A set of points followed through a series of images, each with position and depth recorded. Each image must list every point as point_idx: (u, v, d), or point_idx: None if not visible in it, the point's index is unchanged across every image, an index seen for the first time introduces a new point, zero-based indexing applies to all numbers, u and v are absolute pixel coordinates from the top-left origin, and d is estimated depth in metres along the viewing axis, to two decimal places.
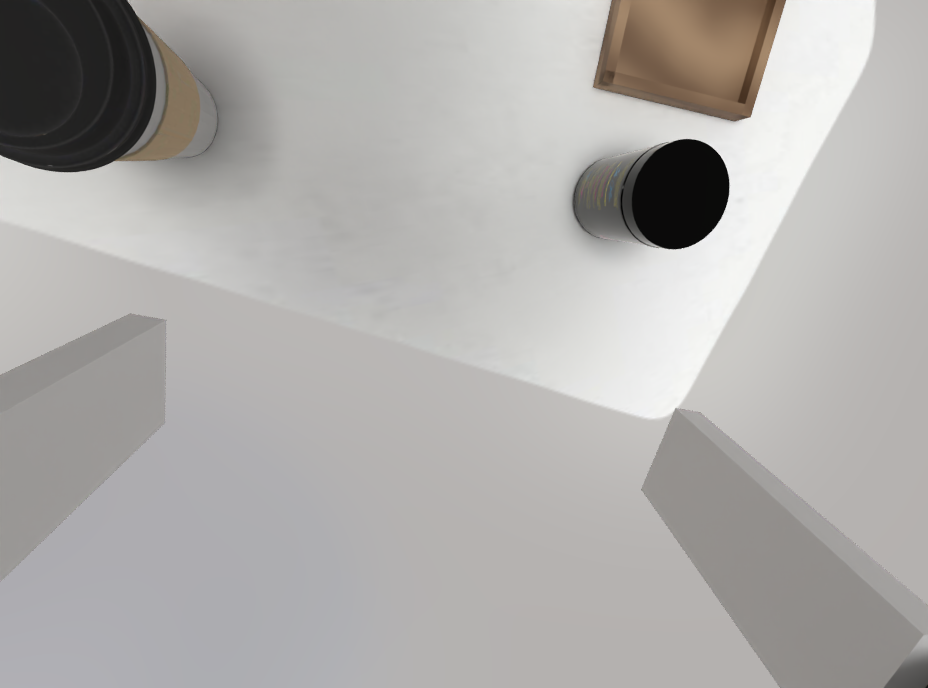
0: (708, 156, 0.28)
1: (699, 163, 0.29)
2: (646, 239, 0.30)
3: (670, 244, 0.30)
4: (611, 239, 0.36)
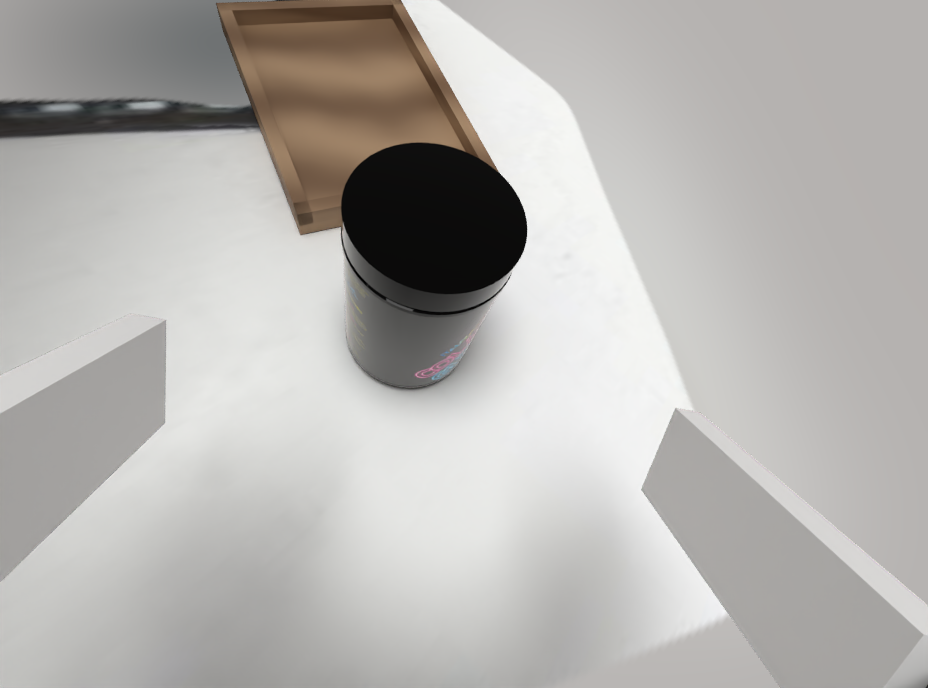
0: (438, 154, 0.17)
1: (431, 166, 0.17)
2: (432, 295, 0.15)
3: (478, 281, 0.15)
4: (431, 368, 0.21)
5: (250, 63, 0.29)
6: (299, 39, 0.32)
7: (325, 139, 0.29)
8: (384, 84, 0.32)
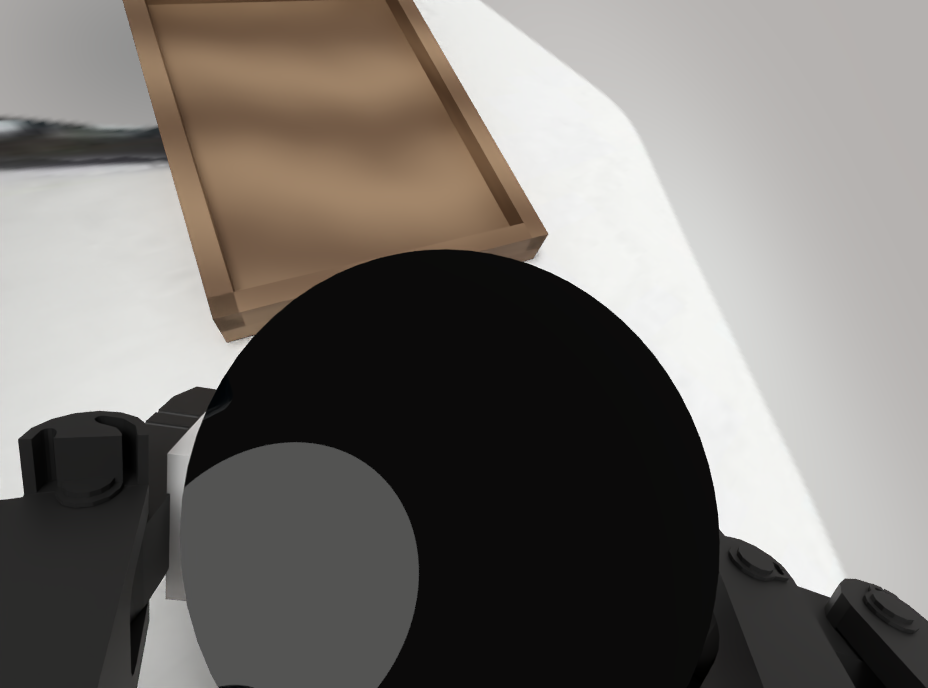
0: (476, 280, 0.07)
1: (458, 318, 0.07)
2: None
3: None
4: None
5: (158, 61, 0.18)
6: (245, 26, 0.22)
7: (275, 179, 0.18)
8: (371, 92, 0.22)
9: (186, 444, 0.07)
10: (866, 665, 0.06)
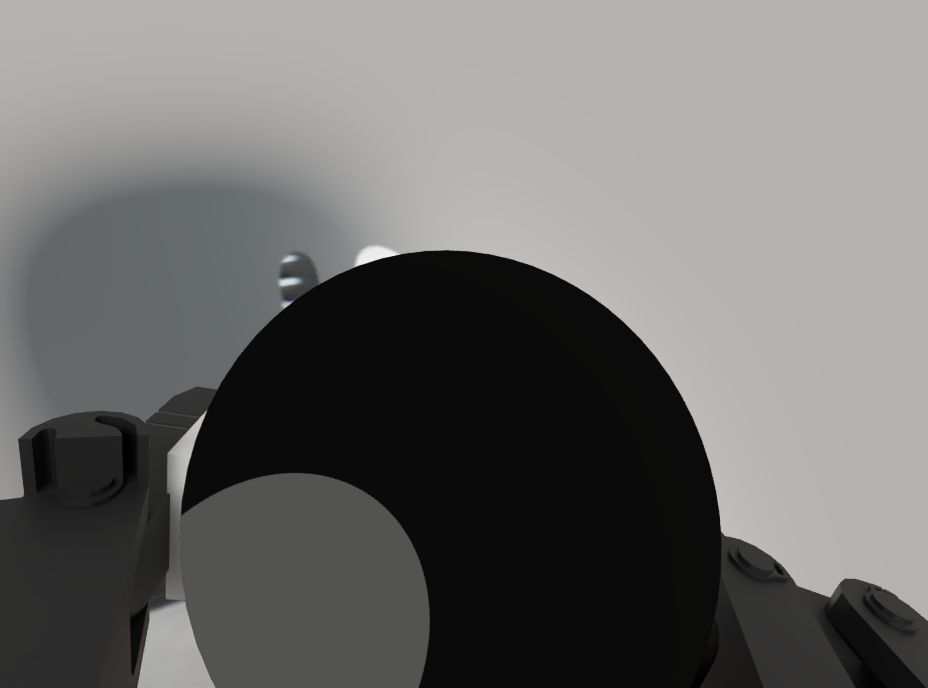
0: (477, 281, 0.07)
1: (459, 320, 0.06)
2: None
3: None
4: None
5: None
6: None
7: None
8: None
9: (186, 444, 0.07)
10: (865, 665, 0.06)
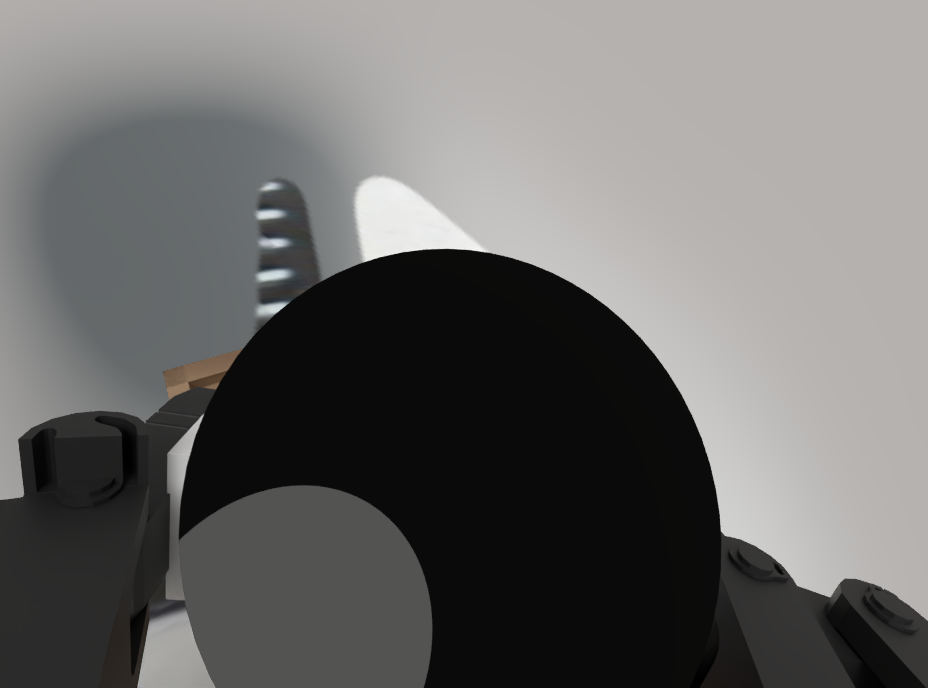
0: (476, 280, 0.07)
1: (458, 318, 0.06)
2: None
3: None
4: None
5: None
6: None
7: None
8: None
9: (186, 444, 0.07)
10: (865, 665, 0.06)
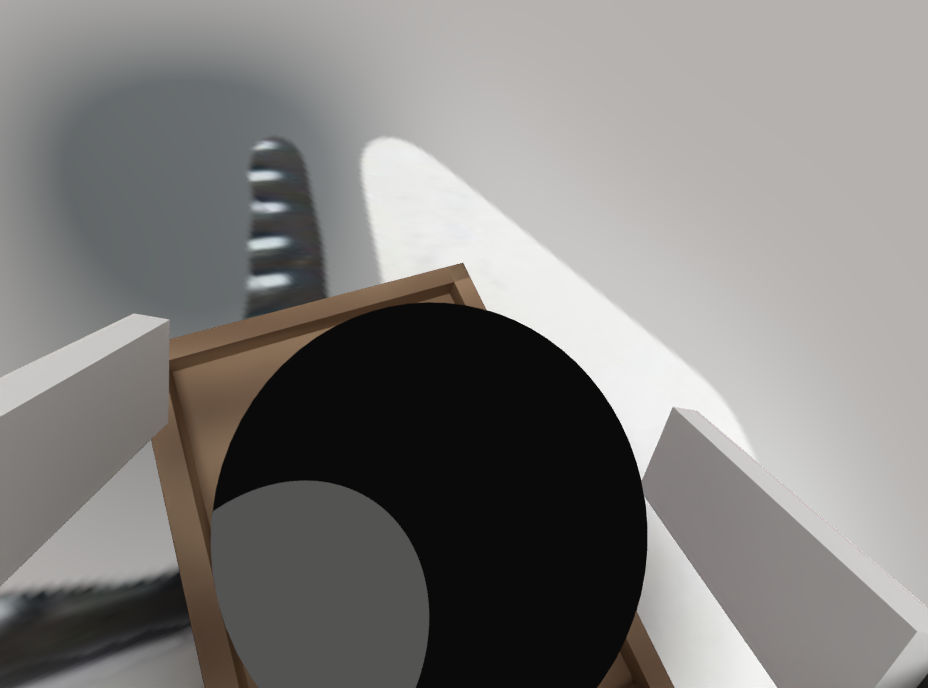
0: (451, 329, 0.08)
1: (435, 363, 0.08)
2: None
3: None
4: None
5: (191, 506, 0.14)
6: None
7: None
8: None
9: None
10: None
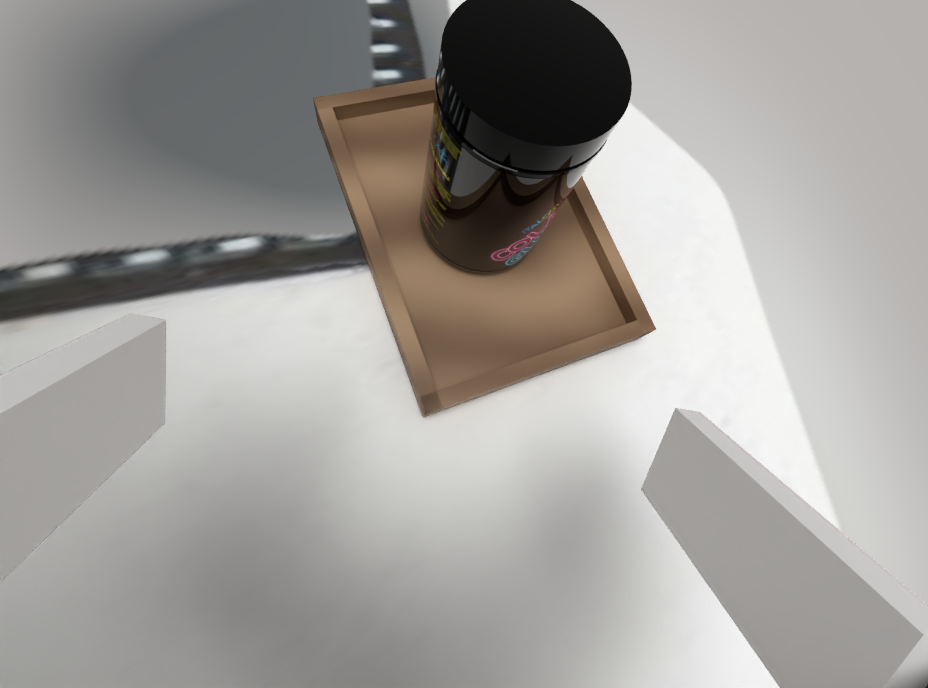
0: (539, 0, 0.16)
1: (531, 12, 0.16)
2: (533, 146, 0.14)
3: (581, 135, 0.15)
4: (508, 249, 0.21)
5: (359, 188, 0.23)
6: (408, 133, 0.26)
7: (447, 284, 0.24)
8: None
9: None
10: None
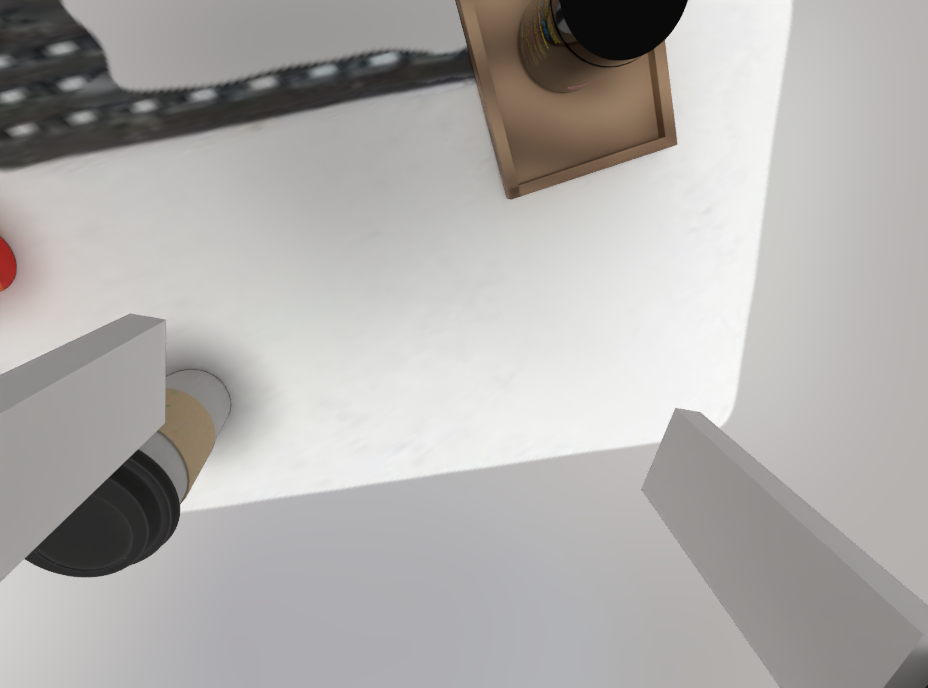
0: None
1: None
2: (606, 59, 0.23)
3: (639, 49, 0.23)
4: (581, 85, 0.30)
5: (473, 13, 0.30)
6: None
7: (532, 100, 0.33)
8: None
9: None
10: None
